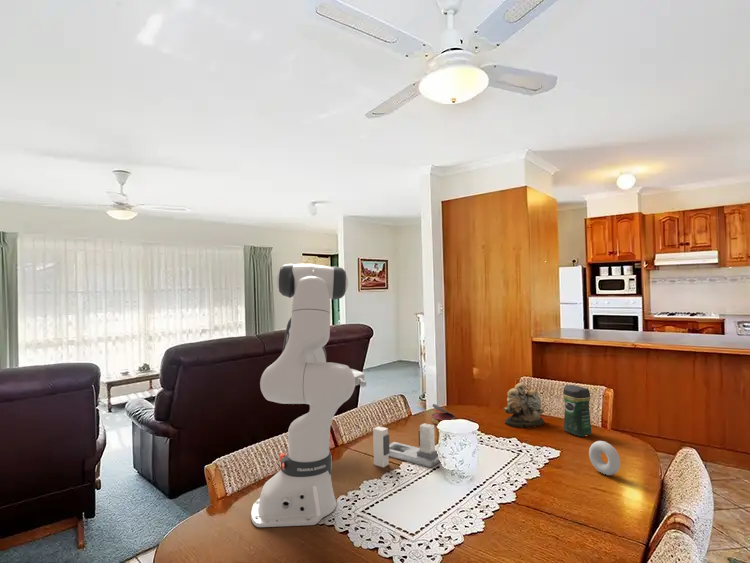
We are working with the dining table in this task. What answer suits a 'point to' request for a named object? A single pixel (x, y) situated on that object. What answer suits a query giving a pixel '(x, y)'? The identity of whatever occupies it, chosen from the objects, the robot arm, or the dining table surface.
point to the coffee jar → (577, 410)
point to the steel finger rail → (418, 455)
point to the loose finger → (381, 446)
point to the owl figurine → (523, 407)
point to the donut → (611, 455)
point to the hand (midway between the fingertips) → (355, 387)
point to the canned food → (441, 415)
